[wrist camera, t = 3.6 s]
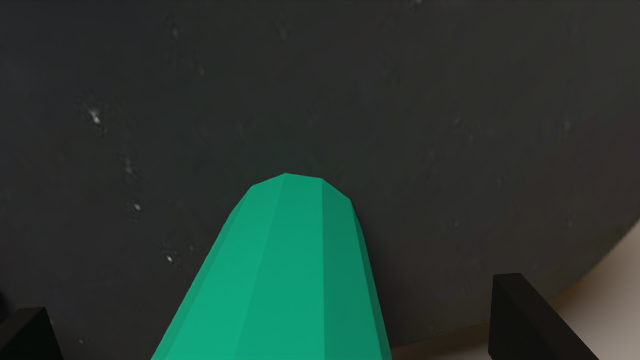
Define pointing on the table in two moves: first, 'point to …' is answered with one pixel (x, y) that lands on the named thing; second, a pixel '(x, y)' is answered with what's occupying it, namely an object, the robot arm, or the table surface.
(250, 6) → the table surface
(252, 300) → the candle
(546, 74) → the table surface
